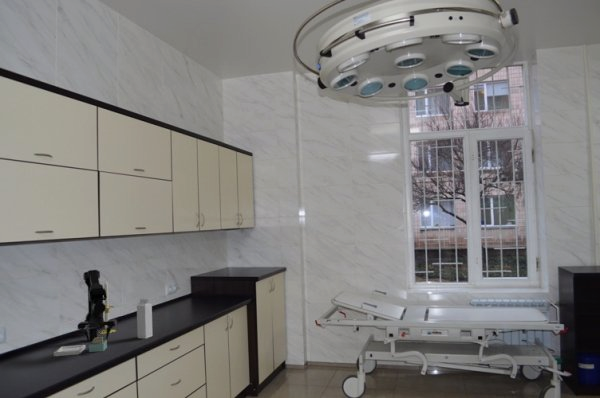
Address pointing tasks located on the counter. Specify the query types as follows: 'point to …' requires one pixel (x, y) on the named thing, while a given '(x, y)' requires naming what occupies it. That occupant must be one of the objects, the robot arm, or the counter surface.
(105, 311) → the candle
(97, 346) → the light blue box
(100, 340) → the beige jar
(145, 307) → the milk
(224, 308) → the counter surface
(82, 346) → the dish
